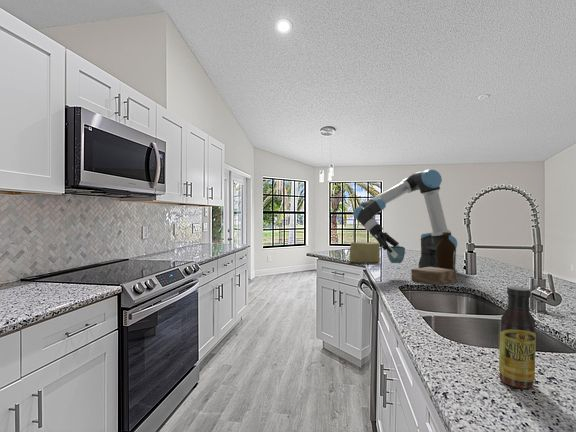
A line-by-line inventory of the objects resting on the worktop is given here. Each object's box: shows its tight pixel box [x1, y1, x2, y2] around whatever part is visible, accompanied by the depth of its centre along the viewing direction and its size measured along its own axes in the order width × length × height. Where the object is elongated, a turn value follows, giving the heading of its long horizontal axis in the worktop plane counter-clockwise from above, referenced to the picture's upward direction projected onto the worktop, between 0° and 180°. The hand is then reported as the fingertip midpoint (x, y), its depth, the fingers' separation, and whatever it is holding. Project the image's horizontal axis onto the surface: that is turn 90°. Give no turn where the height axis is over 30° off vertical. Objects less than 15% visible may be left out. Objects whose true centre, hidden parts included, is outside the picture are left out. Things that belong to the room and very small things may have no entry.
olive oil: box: [436, 232, 457, 270], centre depth 200 cm, size 11×11×25 cm
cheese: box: [349, 242, 381, 263], centre depth 264 cm, size 22×10×15 cm, turn 79°
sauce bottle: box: [498, 285, 537, 389], centre depth 72 cm, size 7×6×20 cm
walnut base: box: [410, 267, 458, 286], centre depth 185 cm, size 16×16×6 cm
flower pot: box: [386, 245, 406, 264], centre depth 196 cm, size 9×9×9 cm
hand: (400, 255), depth 194 cm, fingers closed on flower pot, 11 cm apart
